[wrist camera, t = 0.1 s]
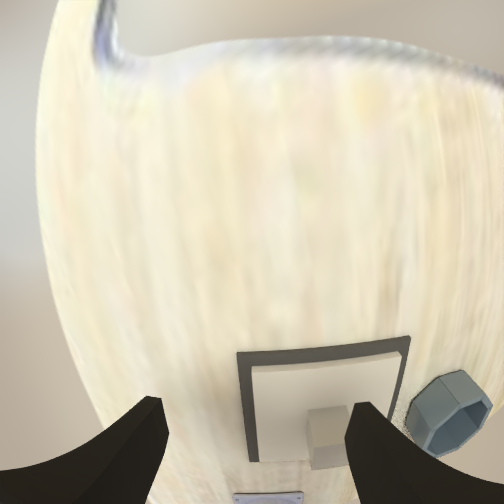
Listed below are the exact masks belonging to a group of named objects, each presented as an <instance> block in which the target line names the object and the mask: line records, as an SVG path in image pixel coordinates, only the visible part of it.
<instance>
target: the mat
mask: <svg viewBox="0 0 504 504" xmlns="http://www.w3.org/2000/svg"><path fill="white" fill-rule="evenodd" d="M410 341H411V337H410V336H403V337H397V338H391V339H384V340H378V341H371V342H363V343H356V344H347V345H339V346H329V347H319V348H307V349H294V350H278V351H258V352H237V363H238V372H239V381H240V390H241V398H242V407H243V415H244V423H245V431H246V438H247V446H248V454H249V461H250V462H259V451H258V441H257V430H256V418H255V407H254V396H253V384H252V366H270V365H288V364H301V363H313V362H324V361H333V360H342V359H350V358H357V357H365V356H371V355H378V354H384V353H390V352H396V351H398V352H399V353H400V355H401V356H402V358H401V363H400V368H399V372H398V377H397V381H396V385H395V389H394V393H393V397H392V401H391V405H390V408H389V412H388V415H387V419H388V420H389V421H390V422H391V418H392V415H393V412H394V408H395V405H396V401H397V398H398V394H399V390H400V387H401V383H402V378H403V374H404V370H405V366H406V361H407V356H408V351H409V346H410Z"/></svg>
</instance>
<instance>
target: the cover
mask: <svg viewBox="0 0 504 504" xmlns="http://www.w3.org/2000/svg"><path fill="white" fill-rule="evenodd" d="M401 358H402V356H401V355H400V353H399V352H398V351H396V352H390V353H384V354H378V355H371V356H365V357H357V358H350V359H342V360H333V361H324V362H313V363H301V364H288V365H270V366H252V384H253V396H254V407H255V418H256V430H257V441H258V451H259V462H260V463H263V462H286V461H299V460H310V465H311V470H317V469H325V468H332V467H339V466H345V465H349V463H348V459H347V453H346V447H345V440H344V436H345V433H346V430H347V427H348V424H349V420H350V417H351V414H352V410H353V407H354V403H359V402H368V401H370V402H371V403H372V404H373V405H374V406H375V407H376V408H377V409H378V410H379V411H380V412H381V413H382V414H383V415H384V416H385V417H386V418H387V415H388V412H389V408H390V405H391V401H392V397H393V393H394V389H395V385H396V381H397V377H398V372H399V368H400V363H401Z"/></svg>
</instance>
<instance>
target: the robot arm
mask: <svg viewBox="0 0 504 504" xmlns="http://www.w3.org/2000/svg"><path fill="white" fill-rule="evenodd" d="M168 436H169V430H168V426H167V422H166V418H165V413H164V409H163V404H162V400H161V398H157V397H151V396H146V397H144V398H143V399H142V400H141V401H140V402H138V403H137V404H136V405H135V406H134V407H133V408H132V409H130V410H129V411H128V412H127V413H126V414H124V415H123V416H122V417H121V418H120V419H118V420H117V421H116V422H115V423H113V424H112V425H111V426H110V427H108V428H107V429H106V430H104V431H103V432H101V433H100V434H99V435H97V436H96V437H94V438H93V439H92V440H90V441H88V442H87V443H85V444H83V445H82V446H80V447H78V448H76V449H74V450H72V451H70V452H68V453H66V454H63V455H61V456H59V457H56V458H54V459H51V460H49V461H46V462H42V463H40V464H36V465H32V466H28V467H24V468H17V469H11V470H2V471H0V504H145V502H146V499H147V496H148V494H149V491H150V489H151V486H152V484H153V481H154V479H155V476H156V474H157V471H158V469H159V466H160V464H161V461H162V458H163V456H164V453H165V449H166V445H167V441H168ZM344 440H345V447H346V453H347V459H348V463H349V466H350V469H351V473H352V476H353V479H354V483H355V486H356V489H357V493H358V496H359V499H360V503H361V504H504V484H499V483H494V482H490V481H486V480H482V479H479V478H476V477H473V476H470V475H468V474H465V473H463V472H460V471H458V470H456V469H454V468H452V467H450V466H448V465H446V464H444V463H442V462H441V461H439V460H438V459H436V458H434V457H433V456H431V455H430V454H428V453H427V452H425V451H424V450H422V449H421V448H420V447H419V446H417V445H416V444H415V443H413V442H412V441H411V440H410V439H408V438H407V437H406V436H405V435H404V434H403V433H402V432H401V431H399V430H398V429H397V428H396V427H395V426H394V425H393V424H392V423H391V422H390V421H389V420H388V419H387V418H386V417H385V416H384V415H383V414H382V413H381V412H380V411H379V410H378V409H377V408H376V407H375V406H374V405H373V404H372V403H371V402H370V401H368V402H359V403H354V407H353V410H352V414H351V417H350V420H349V424H348V427H347V430H346V433H345V436H344ZM233 501H234V504H302V502H303V493H302V492H296V493H281V494H234V495H233Z"/></svg>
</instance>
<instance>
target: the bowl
mask: <svg viewBox="0 0 504 504" xmlns="http://www.w3.org/2000/svg"><path fill="white" fill-rule="evenodd" d="M492 407H493V404H492V403H491V401H490V400H489V398H488V397H487V395H486V394H485V393H484V392H483V390H482V389H481V388H480V387H479V386H478V385H477V384H476V383H475V382H474V381H473V380H472V378H471V377H470V376H469V375H468V374H467V373H466V372H465V371H464V370H461V371H458V372H452V373H448V374H445V375H443V376H441V377H439V378H437V379H436V380H434V381H433V382H431V383H430V384H429V385H428V386H426V387H425V388H424V389H423V390H422V391H421V392H420V394H419V395H418V396H417V397H416V398H415V400H414V401H413V402H412V405H411V407H410V410H409V413H408V417H407V420H406V423H405V424H406V426H407V428H408V430H409V432H410V434H411V436H412V438H413V440H414V442H415V444H416V445H417V446H419V447H420V448H421V449H422V450H424V451H425V452H427V453H428V454H430V455H431V456H433V457H434V458H438V457H441V456H444V455H446V454H449V453H451V452H453V451H456V450H458V449H459V448H460V447H461V446H463V445H464V444H465V443H466V442H467V441H468V440H469V439H471V438H472V437H473V436H474V435H475V434H476V433H477V432H478V431H479V430H480V429H481V428H482V426H483V425H484V423H485V421H486V419H487V417H488V415H489V413H490V411H491V409H492Z"/></svg>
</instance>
